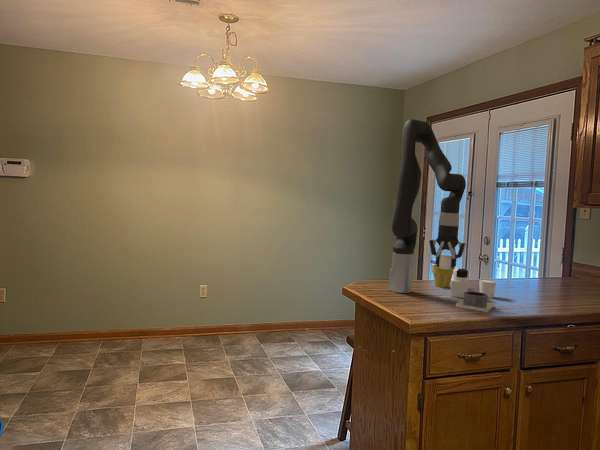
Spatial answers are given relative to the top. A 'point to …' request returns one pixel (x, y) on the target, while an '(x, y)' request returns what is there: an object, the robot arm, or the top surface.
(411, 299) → the top surface
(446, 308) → the top surface
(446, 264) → the cap
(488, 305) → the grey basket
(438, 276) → the plant pot
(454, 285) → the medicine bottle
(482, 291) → the white cylinder
